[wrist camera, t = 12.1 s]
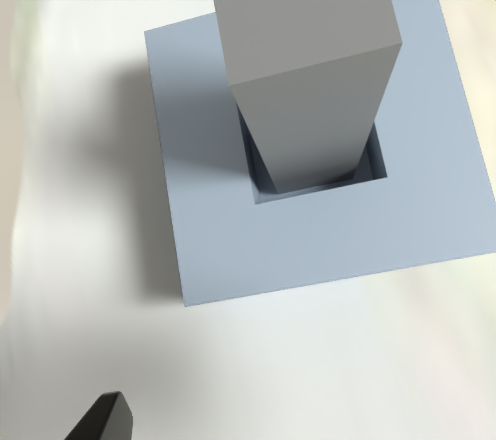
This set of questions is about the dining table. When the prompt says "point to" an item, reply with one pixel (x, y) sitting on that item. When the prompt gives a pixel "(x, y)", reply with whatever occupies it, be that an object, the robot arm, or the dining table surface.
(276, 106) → the gray block
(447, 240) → the socket block
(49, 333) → the dining table surface
